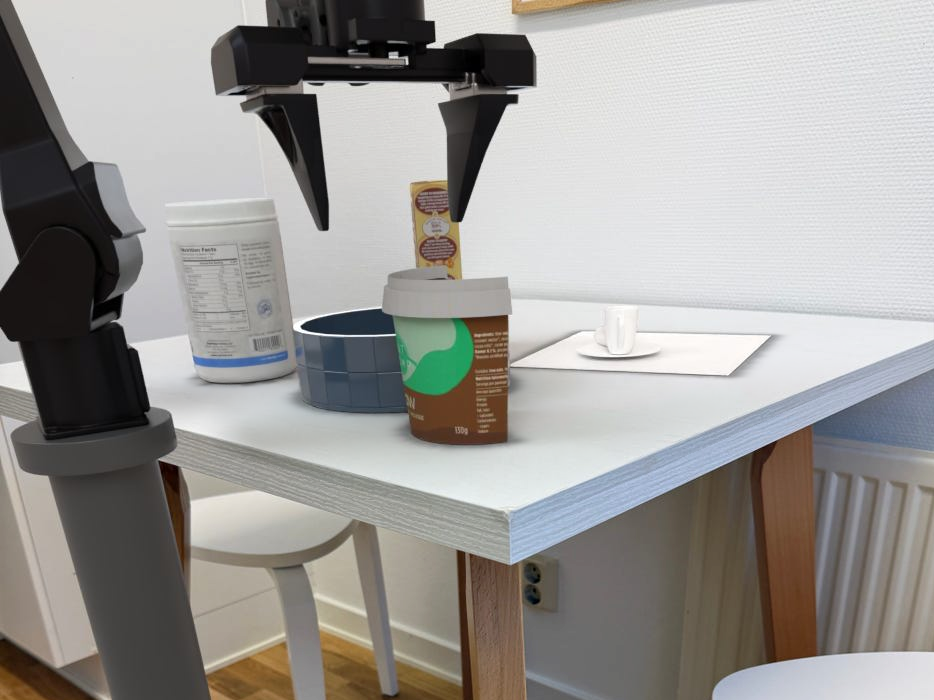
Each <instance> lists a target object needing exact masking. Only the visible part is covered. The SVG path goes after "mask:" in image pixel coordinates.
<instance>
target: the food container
mask: <svg viewBox="0 0 934 700" xmlns="http://www.w3.org/2000/svg"><path fill="white" fill-rule="evenodd" d="M381 307H382V312H384V313H386V314H390V315H393V321H394V327H395V334H396V340H397V346H398V353H399V359H400V365H401V371H402V378H403V384H404V390H405V397H406V403H407V409H408V412H407V414H408V415H407V416H408V421H409V427H410V433H411V435H412V436H413V437H415V438H417V439H419V440H422V441H426V442H430V443H436V444H446V445H486V444H497V443H498V444H499V443H505V442H508V441H509V440H508V436H509V435H508V434H509V433H508V429H509V428H508V427H509V426H508V423H509V419H508V418H509V417H508V416H509V415H508V413H509V411H508V410H509V404H508V403H509V402H508V401H509V387H508V321H509V315H510V316H511V315H513V305H512V296H511V288H509V276H499V277H497V276H496V277H483V278H462V279H458V280H448V276H447V266H446V265H443V266H431V267H422V268H416V267H415V268H409V269H403V270H398V271H393V272H391V273H388V274H387V284H385V285H384V286H383V295H382V303H381Z"/></svg>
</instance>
